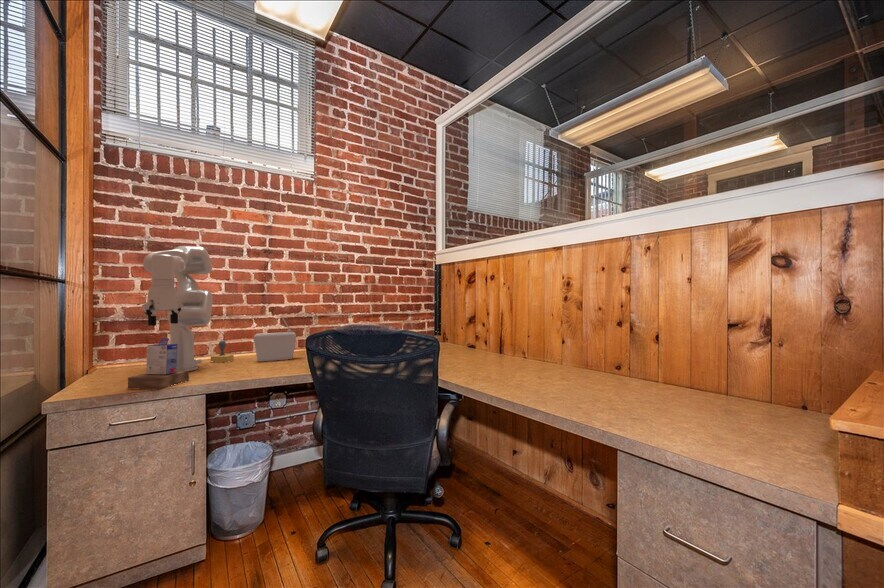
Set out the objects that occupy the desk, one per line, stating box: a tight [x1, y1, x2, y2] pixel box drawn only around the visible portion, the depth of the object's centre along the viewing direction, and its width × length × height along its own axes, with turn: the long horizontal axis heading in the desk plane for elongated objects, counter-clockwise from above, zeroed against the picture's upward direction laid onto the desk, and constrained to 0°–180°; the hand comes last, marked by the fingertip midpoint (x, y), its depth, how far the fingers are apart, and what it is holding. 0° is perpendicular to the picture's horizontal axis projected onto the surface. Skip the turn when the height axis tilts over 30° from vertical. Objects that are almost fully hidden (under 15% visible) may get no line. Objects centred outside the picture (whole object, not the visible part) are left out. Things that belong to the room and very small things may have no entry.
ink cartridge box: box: [145, 337, 178, 374], centre depth 148 cm, size 10×6×14 cm, turn 82°
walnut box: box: [127, 371, 190, 391], centre depth 147 cm, size 14×14×5 cm
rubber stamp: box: [210, 339, 235, 363], centre depth 199 cm, size 10×6×12 cm, turn 86°
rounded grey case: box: [253, 316, 297, 363], centre depth 203 cm, size 22×8×25 cm, turn 116°
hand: (163, 324), depth 148 cm, fingers open, 9 cm apart
